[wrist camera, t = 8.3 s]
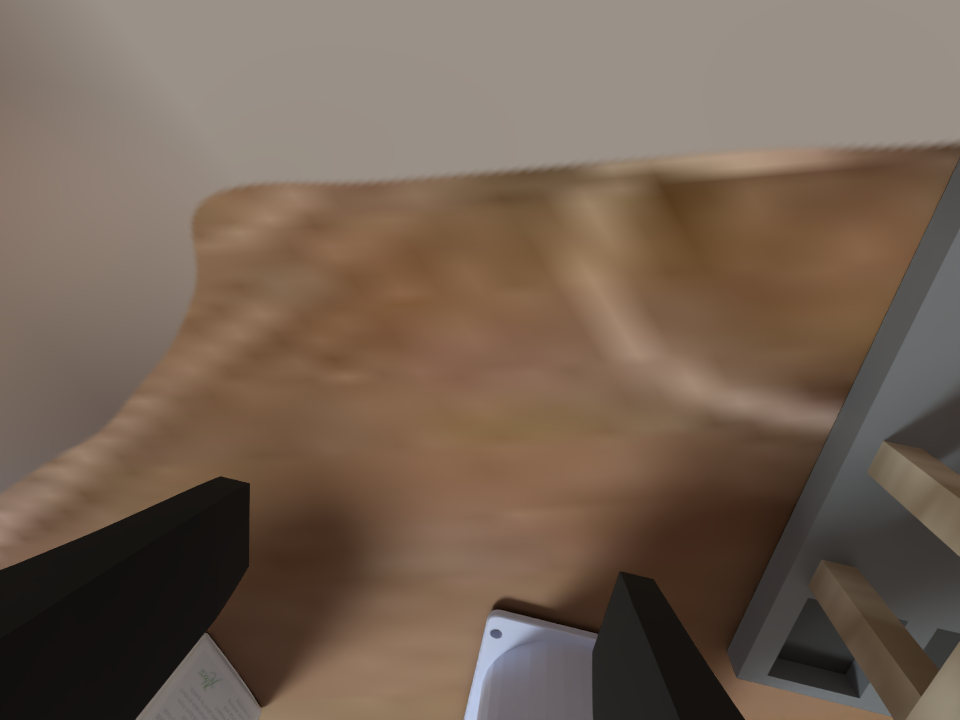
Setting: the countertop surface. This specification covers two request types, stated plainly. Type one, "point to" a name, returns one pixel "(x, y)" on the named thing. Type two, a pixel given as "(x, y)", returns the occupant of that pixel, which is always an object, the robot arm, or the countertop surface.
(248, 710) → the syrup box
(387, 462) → the countertop surface
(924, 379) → the board
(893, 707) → the wooden tunnel
